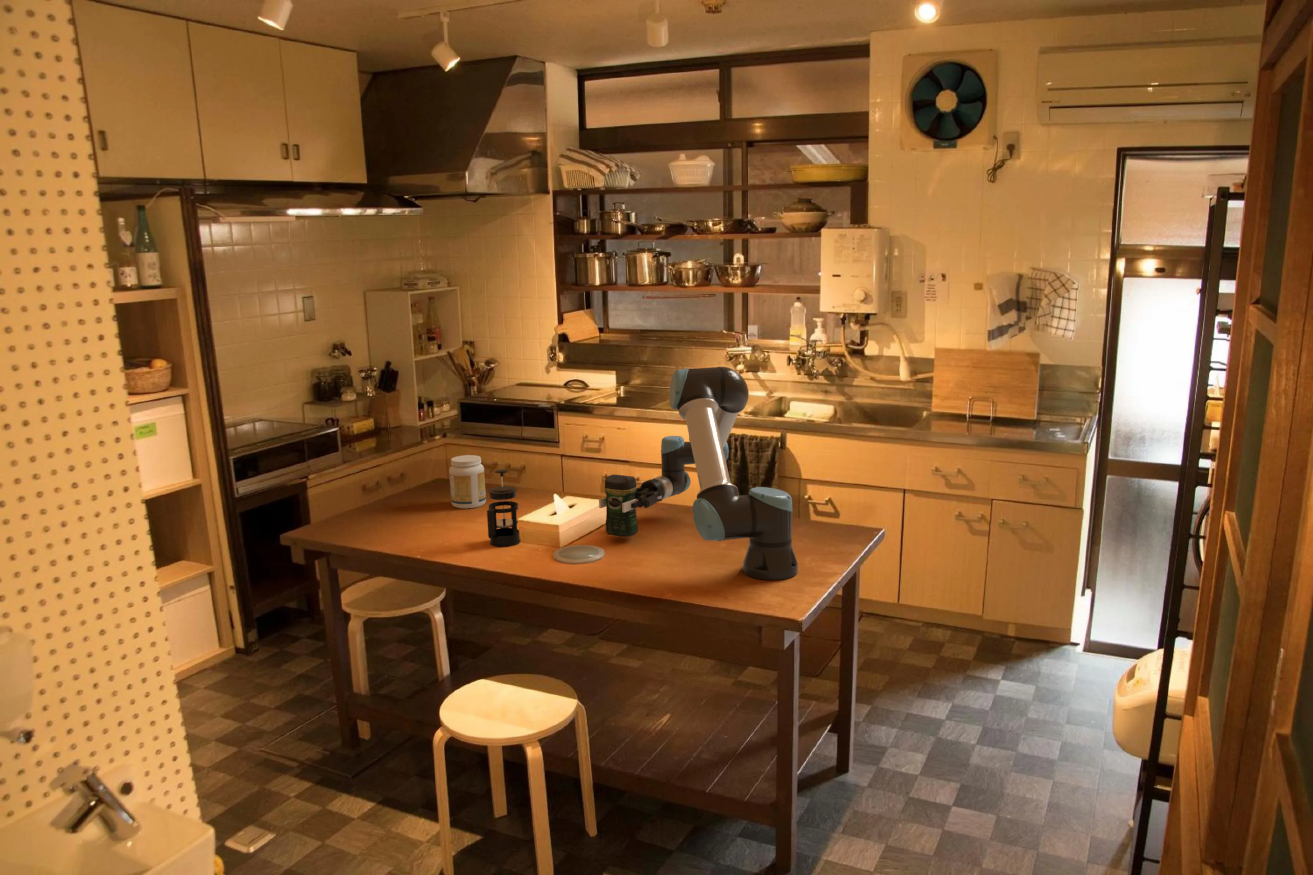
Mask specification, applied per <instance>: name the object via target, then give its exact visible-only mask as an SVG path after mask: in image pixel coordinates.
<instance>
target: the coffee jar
mask: <svg viewBox="0 0 1313 875" xmlns="http://www.w3.org/2000/svg"><path fill="white" fill-rule="evenodd" d="M637 488H638V487H637V480H636V477H635V476H632V475H623V474H614V473H613V474H610V475H608V476H606V477H605V480H604V488H603V489H604V492H605V495H606V496H605V497H606V498H607V506H606V515H605V516H606V518H605V519H606V521H605V533H606V534H607V535H609V536H613V537H621V538H627V537H633V536H634V535H636V534H637V533H638V531H639V526H638V525H639V524H638V519H637V518H638V517H637V508H635V509H632V510H630V511H627V512H622V503H625V502H628V501H630V500H633V499H635V492H636V489H637Z"/></svg>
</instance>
